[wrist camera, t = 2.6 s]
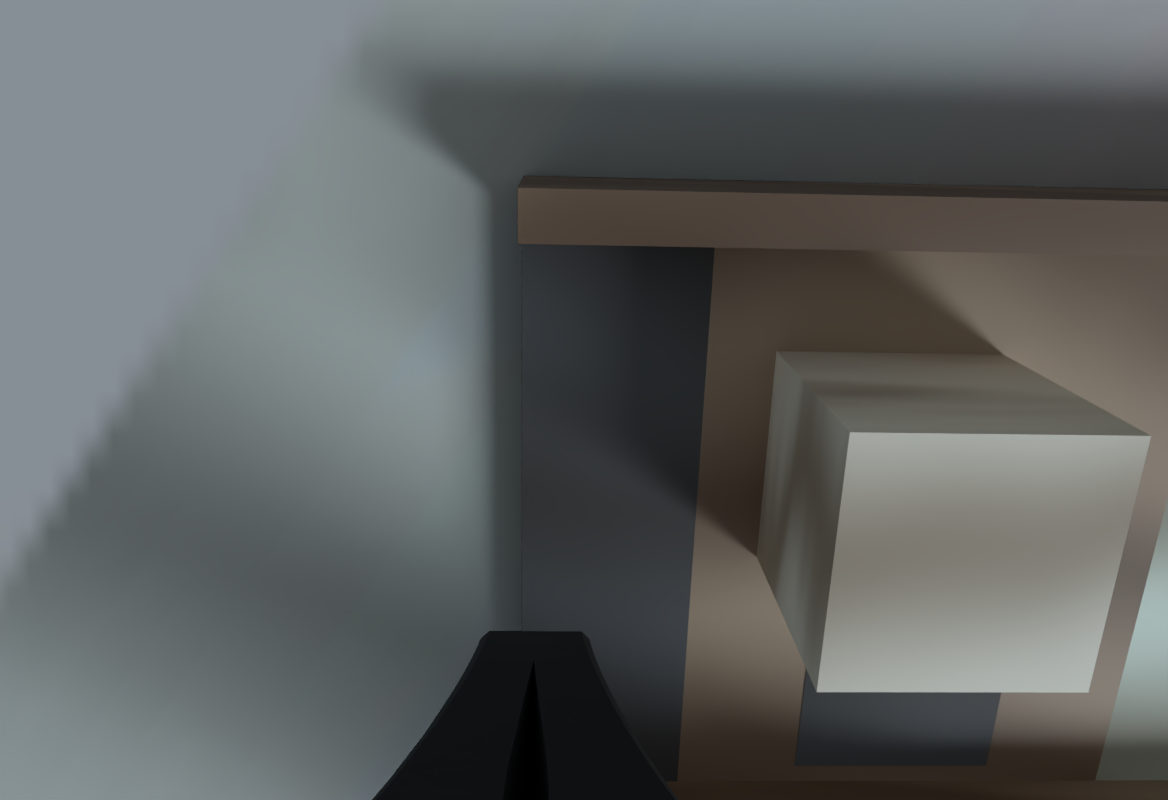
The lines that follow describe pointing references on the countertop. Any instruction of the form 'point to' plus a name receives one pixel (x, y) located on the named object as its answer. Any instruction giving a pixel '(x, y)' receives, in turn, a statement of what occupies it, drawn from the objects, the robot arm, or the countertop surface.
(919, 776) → the wooden tray
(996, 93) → the countertop surface
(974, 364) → the cream cube
